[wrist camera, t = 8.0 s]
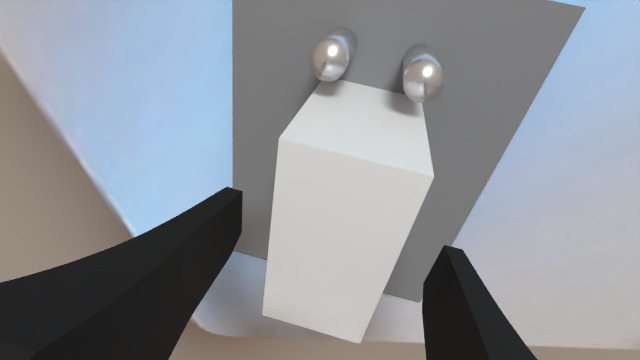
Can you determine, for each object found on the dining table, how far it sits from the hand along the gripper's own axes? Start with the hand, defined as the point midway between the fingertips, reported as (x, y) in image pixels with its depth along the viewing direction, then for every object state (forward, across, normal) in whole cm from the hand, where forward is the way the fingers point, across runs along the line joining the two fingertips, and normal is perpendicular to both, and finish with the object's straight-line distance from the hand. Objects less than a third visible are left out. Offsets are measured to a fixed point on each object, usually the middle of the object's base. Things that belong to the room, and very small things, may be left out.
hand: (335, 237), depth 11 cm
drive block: (+5, 0, 0) cm, 5 cm away
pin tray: (+6, 0, 0) cm, 6 cm away
